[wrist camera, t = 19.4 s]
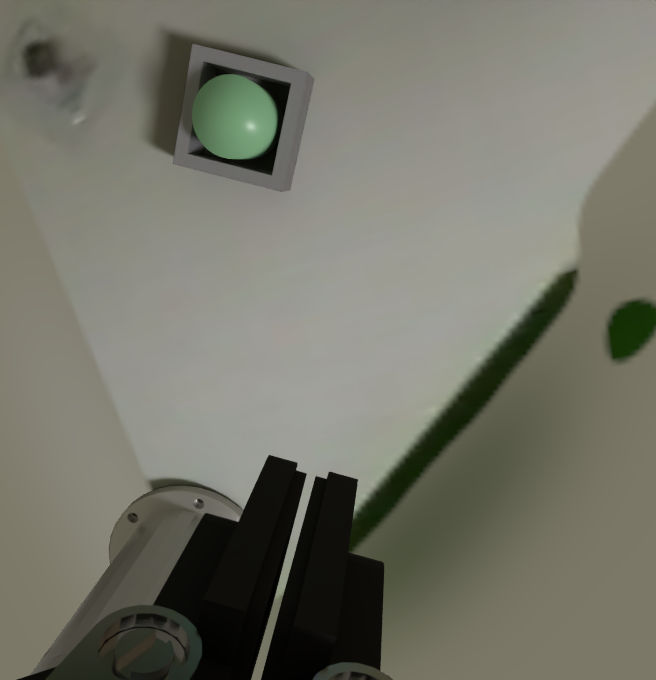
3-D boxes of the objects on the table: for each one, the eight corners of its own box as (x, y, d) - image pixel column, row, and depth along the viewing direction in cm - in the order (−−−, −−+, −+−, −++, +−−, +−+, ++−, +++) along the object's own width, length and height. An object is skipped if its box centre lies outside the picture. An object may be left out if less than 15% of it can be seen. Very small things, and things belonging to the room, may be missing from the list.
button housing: (289, 190, 41) (281, 191, 38) (188, 164, 42) (172, 163, 39) (314, 79, 39) (307, 71, 36) (207, 52, 40) (192, 43, 37)
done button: (274, 167, 40) (261, 167, 36) (206, 149, 41) (185, 148, 37) (289, 92, 39) (277, 85, 35) (219, 75, 39) (199, 65, 35)
